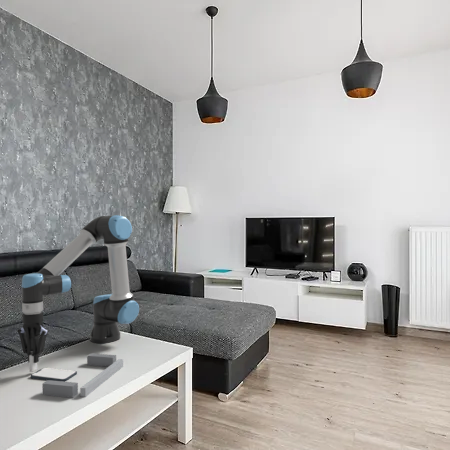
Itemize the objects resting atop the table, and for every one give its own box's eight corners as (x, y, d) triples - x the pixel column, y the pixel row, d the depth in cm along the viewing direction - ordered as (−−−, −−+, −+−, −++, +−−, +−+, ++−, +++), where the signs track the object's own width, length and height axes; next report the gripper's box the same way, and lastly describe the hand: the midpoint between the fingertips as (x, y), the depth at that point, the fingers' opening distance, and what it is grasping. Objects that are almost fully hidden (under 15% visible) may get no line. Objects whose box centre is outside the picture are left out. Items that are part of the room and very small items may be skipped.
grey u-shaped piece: (91, 362, 163) (91, 353, 163) (124, 365, 159) (124, 355, 159) (42, 394, 132) (42, 383, 132) (83, 398, 129) (82, 387, 129)
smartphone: (78, 374, 151) (44, 370, 155) (78, 370, 151) (44, 366, 155) (64, 384, 143) (28, 379, 147) (64, 379, 143) (28, 375, 146)
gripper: (11, 313, 148) (12, 372, 149) (40, 315, 146) (41, 375, 146) (25, 309, 156) (26, 365, 156) (53, 310, 153) (53, 368, 153)
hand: (33, 370), depth 151 cm, fingers closed
